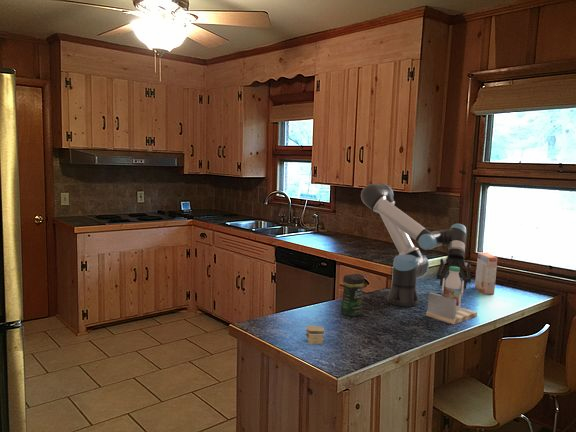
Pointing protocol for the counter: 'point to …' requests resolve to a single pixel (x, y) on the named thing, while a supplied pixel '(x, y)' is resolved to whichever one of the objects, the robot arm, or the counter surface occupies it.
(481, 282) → the cracker box
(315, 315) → the counter surface
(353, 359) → the counter surface
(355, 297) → the coffee jar
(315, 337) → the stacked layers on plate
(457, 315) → the shelf board
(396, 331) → the counter surface
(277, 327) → the counter surface
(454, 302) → the bookend
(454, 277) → the milk bottle
